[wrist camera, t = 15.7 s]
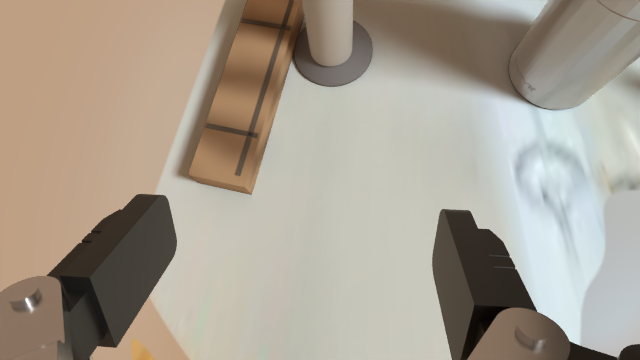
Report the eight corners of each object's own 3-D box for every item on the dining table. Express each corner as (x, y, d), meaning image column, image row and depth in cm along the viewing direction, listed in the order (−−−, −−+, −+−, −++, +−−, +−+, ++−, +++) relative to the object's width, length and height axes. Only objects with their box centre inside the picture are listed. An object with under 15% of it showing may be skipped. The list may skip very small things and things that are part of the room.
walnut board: (259, -2, 49) (254, -21, 46) (306, 6, 48) (304, -13, 45) (198, 182, 43) (187, 174, 40) (251, 194, 42) (244, 187, 39)
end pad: (356, 9, 48) (356, 6, 47) (383, 71, 45) (383, 69, 45) (284, 32, 47) (284, 30, 47) (308, 97, 45) (307, 95, 44)
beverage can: (361, 53, 45) (365, -29, 34) (327, 77, 45) (320, 2, 33) (334, 25, 47) (330, -63, 35) (301, 49, 46) (286, -33, 35)
